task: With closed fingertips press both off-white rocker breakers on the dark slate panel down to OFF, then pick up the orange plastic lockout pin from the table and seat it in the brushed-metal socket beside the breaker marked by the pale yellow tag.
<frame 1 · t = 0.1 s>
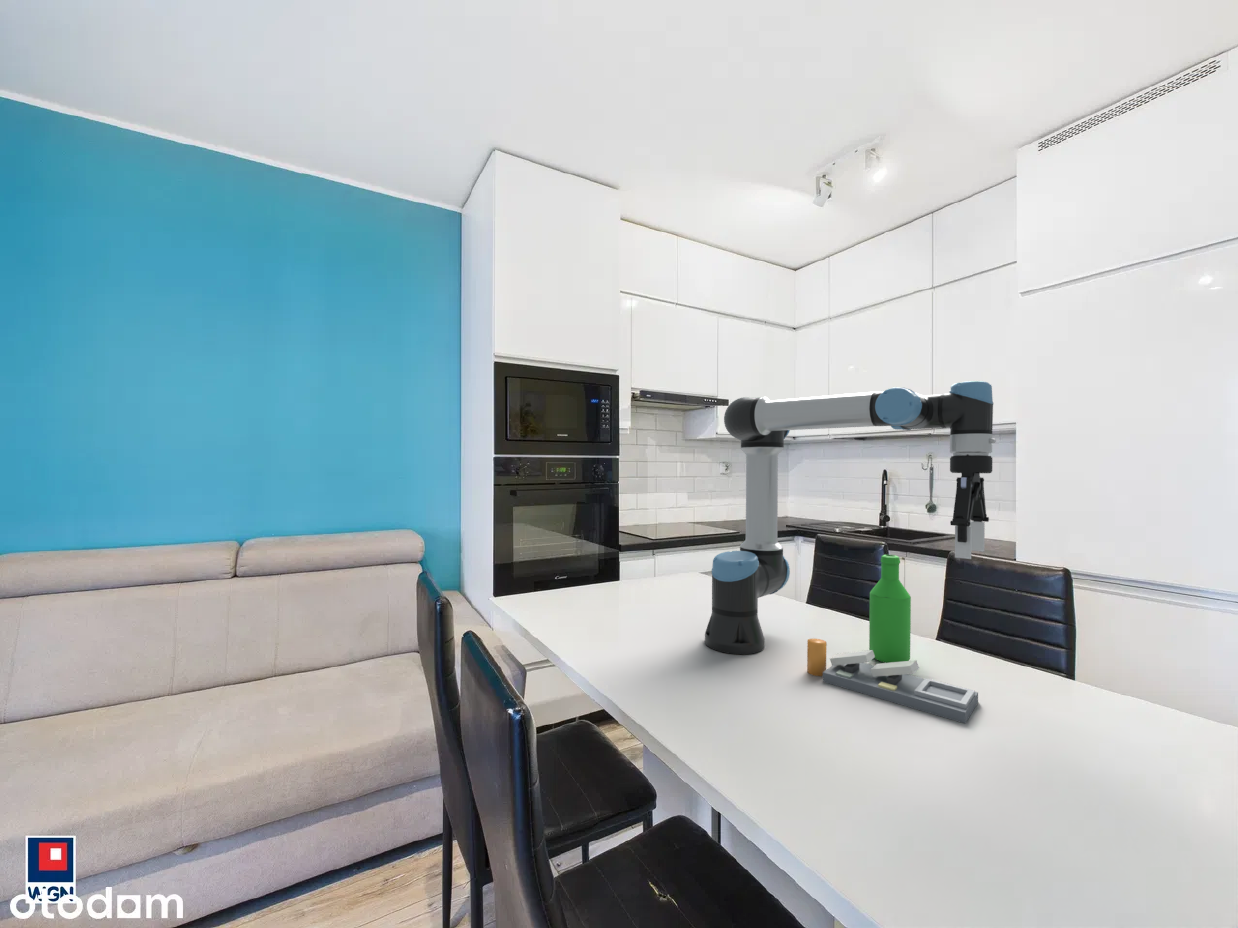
hand: (970, 554, 111), 28 cm above the table, fingers open, 13 cm apart
breaker b: (894, 668, 108), point 5 cm above the table, hinge at -20.0°
panel: (896, 691, 108), on the table
bottle: (889, 659, 126), on the table
lockout pin: (816, 672, 117), on the table
breaker a: (852, 657, 114), point 5 cm above the table, hinge at -20.0°
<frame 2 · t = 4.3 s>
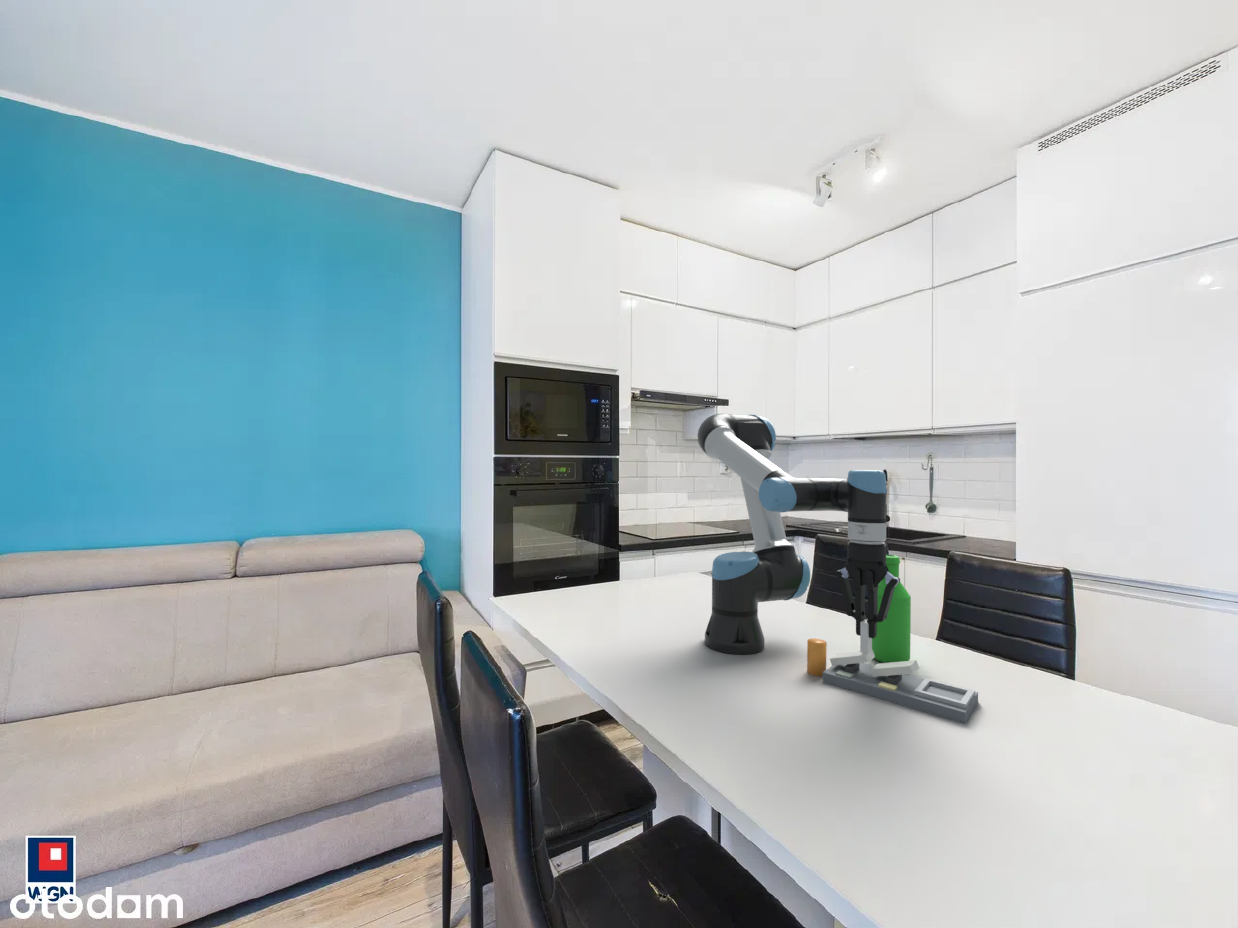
hand: (866, 651, 112), 7 cm above the table, fingers closed
breaker a: (852, 657, 114), point 5 cm above the table, hinge at -20.0°, touching gripper
everything else where it was.
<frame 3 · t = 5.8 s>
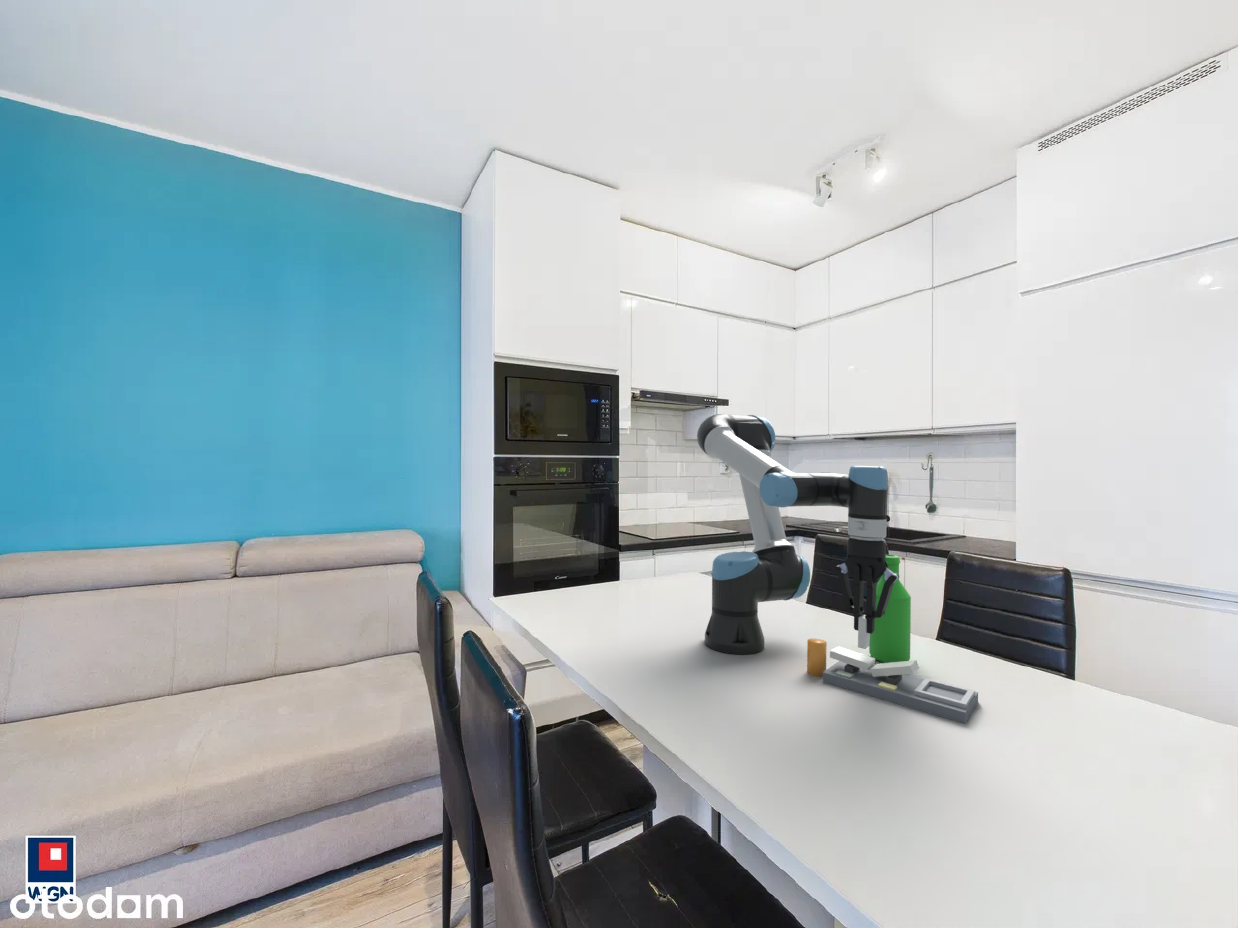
hand: (863, 646, 112), 8 cm above the table, fingers closed
breaker a: (852, 657, 114), point 5 cm above the table, hinge at 5.3°
everything else where it was.
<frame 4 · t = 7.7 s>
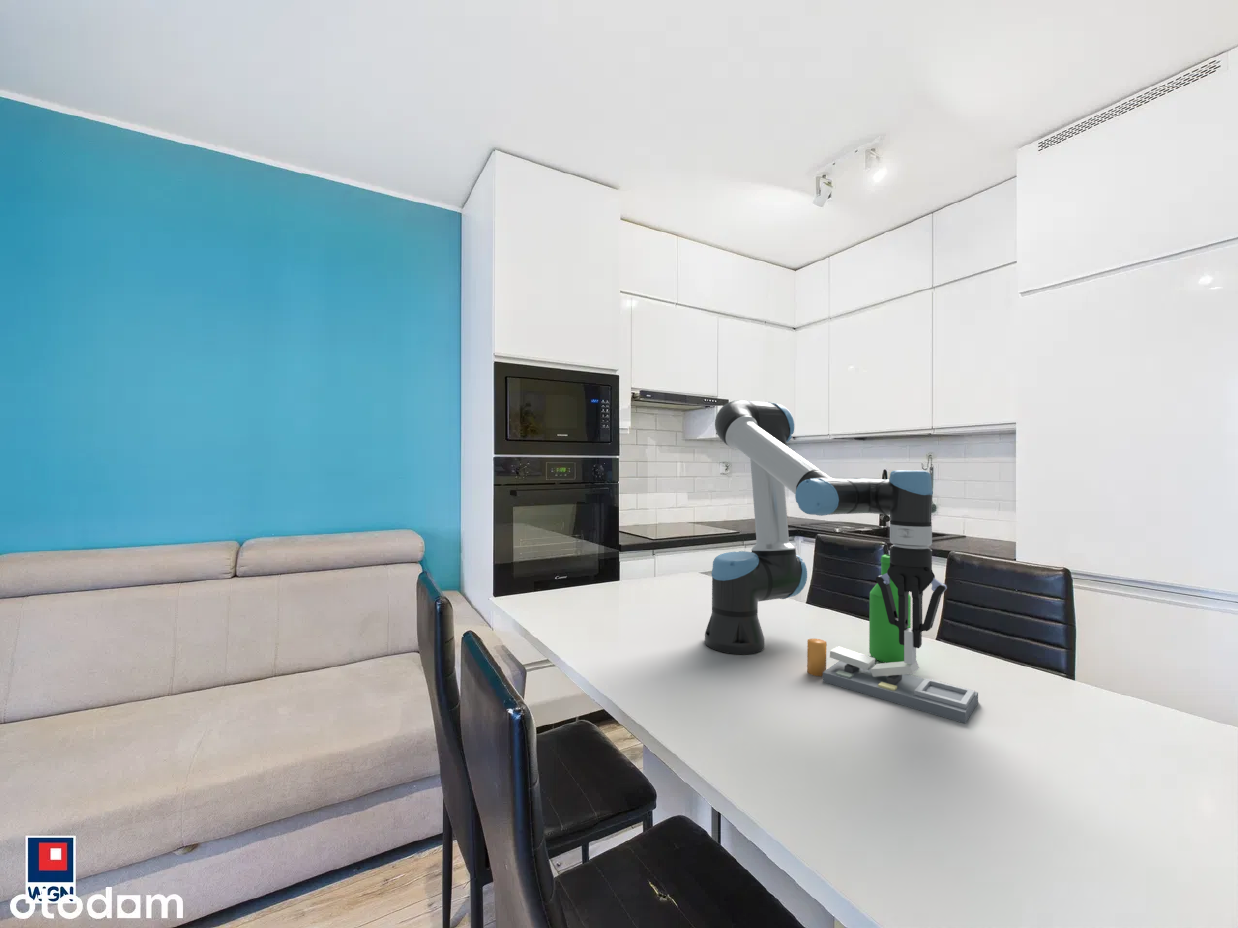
hand: (910, 661, 106), 7 cm above the table, fingers closed
breaker b: (894, 668, 108), point 5 cm above the table, hinge at -20.0°, touching gripper
everything else where it was.
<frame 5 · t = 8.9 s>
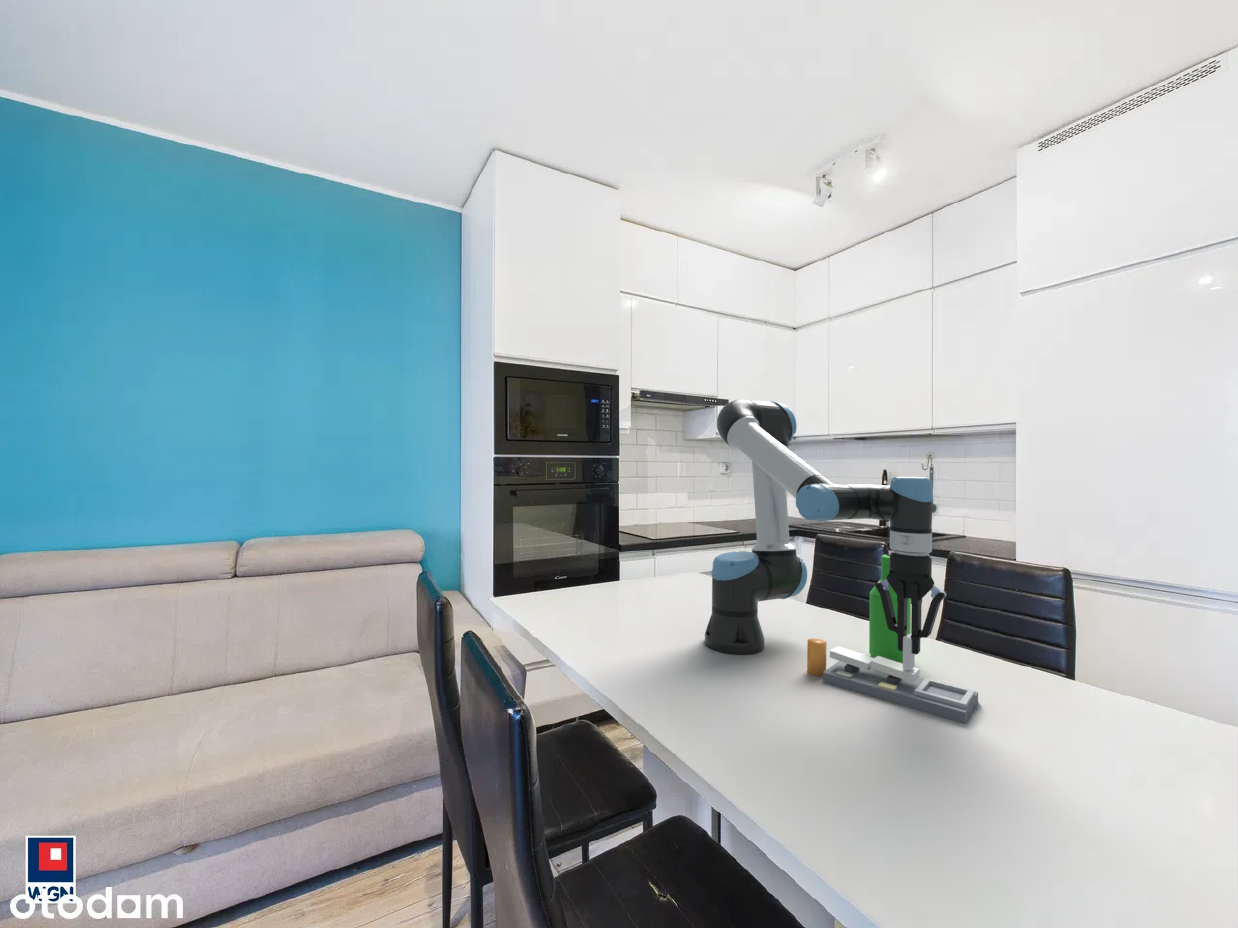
hand: (908, 667, 106), 5 cm above the table, fingers closed
breaker b: (894, 668, 108), point 5 cm above the table, hinge at 5.1°, touching gripper
everything else where it was.
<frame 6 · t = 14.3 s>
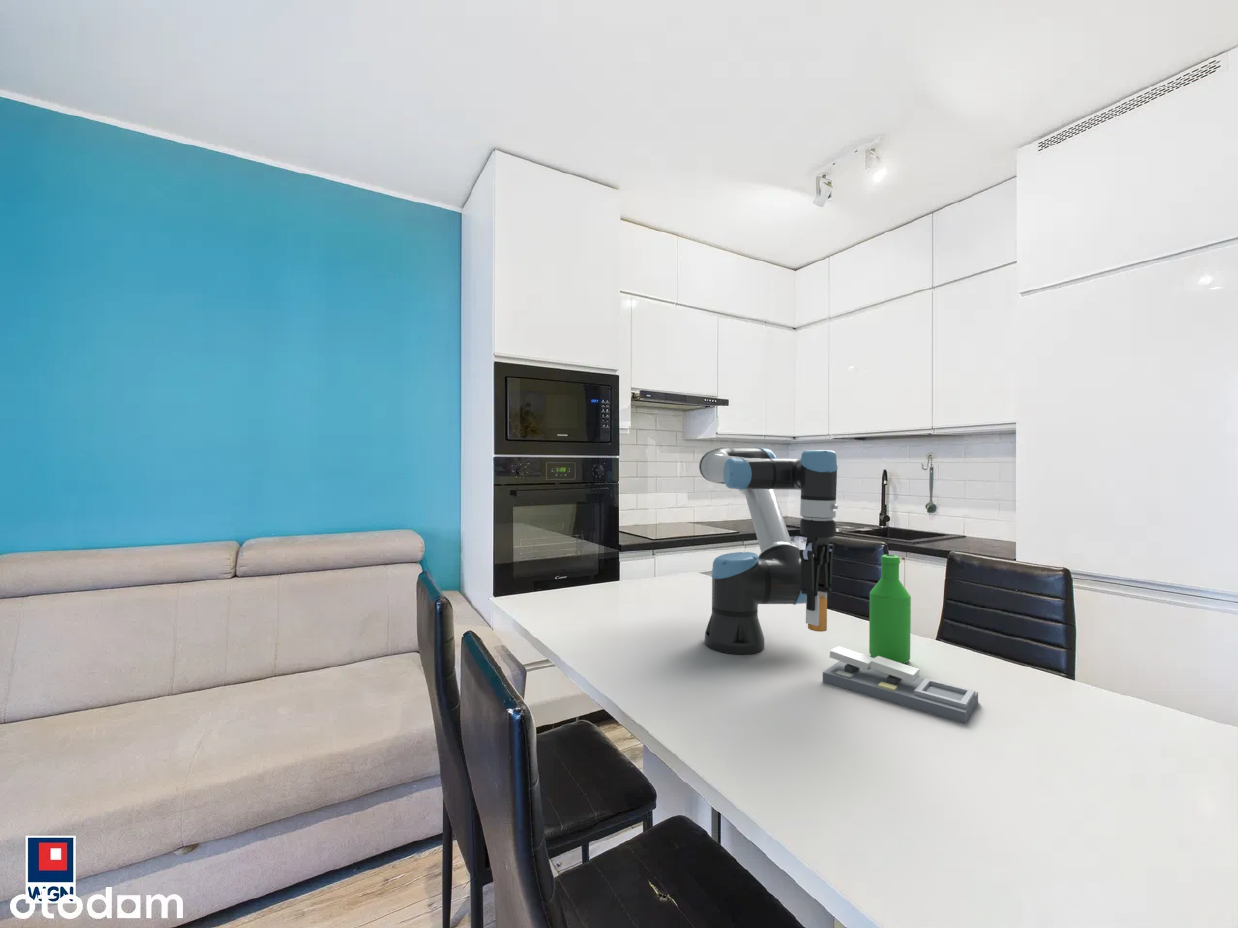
hand: (816, 621, 118), 11 cm above the table, fingers closed on lockout pin, 3 cm apart
breaker b: (894, 668, 108), point 5 cm above the table, hinge at 5.1°
lockout pin: (817, 628, 117), point 10 cm above the table, touching gripper
everything else where it was.
when the fingers open (3 cm above the table, at t = 18.3 s): lockout pin stays where it is, resting on panel.
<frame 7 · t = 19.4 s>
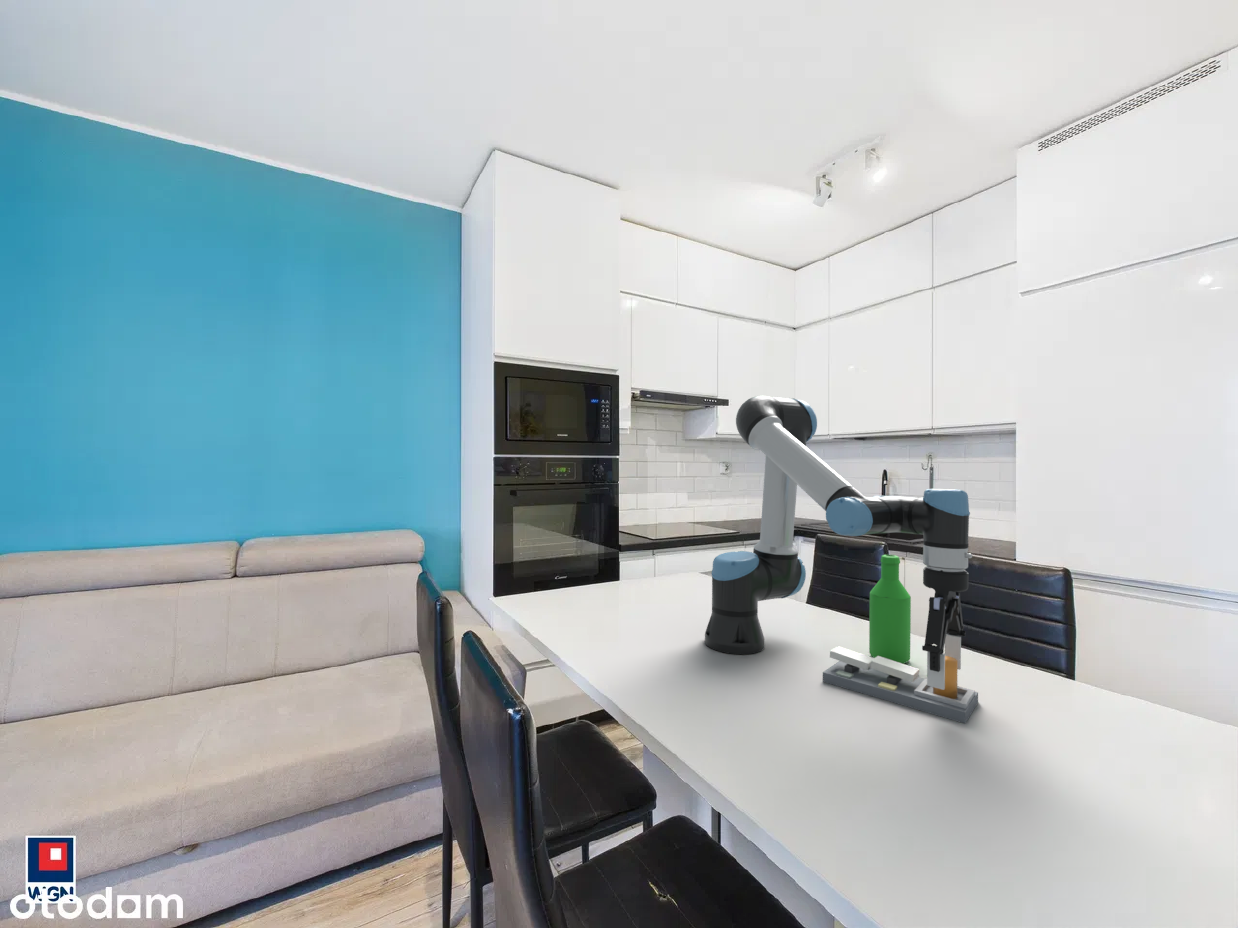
hand: (944, 676, 102), 5 cm above the table, fingers open, 13 cm apart
lockout pin: (945, 694, 102), point 2 cm above the table, touching panel
everything else where it was.
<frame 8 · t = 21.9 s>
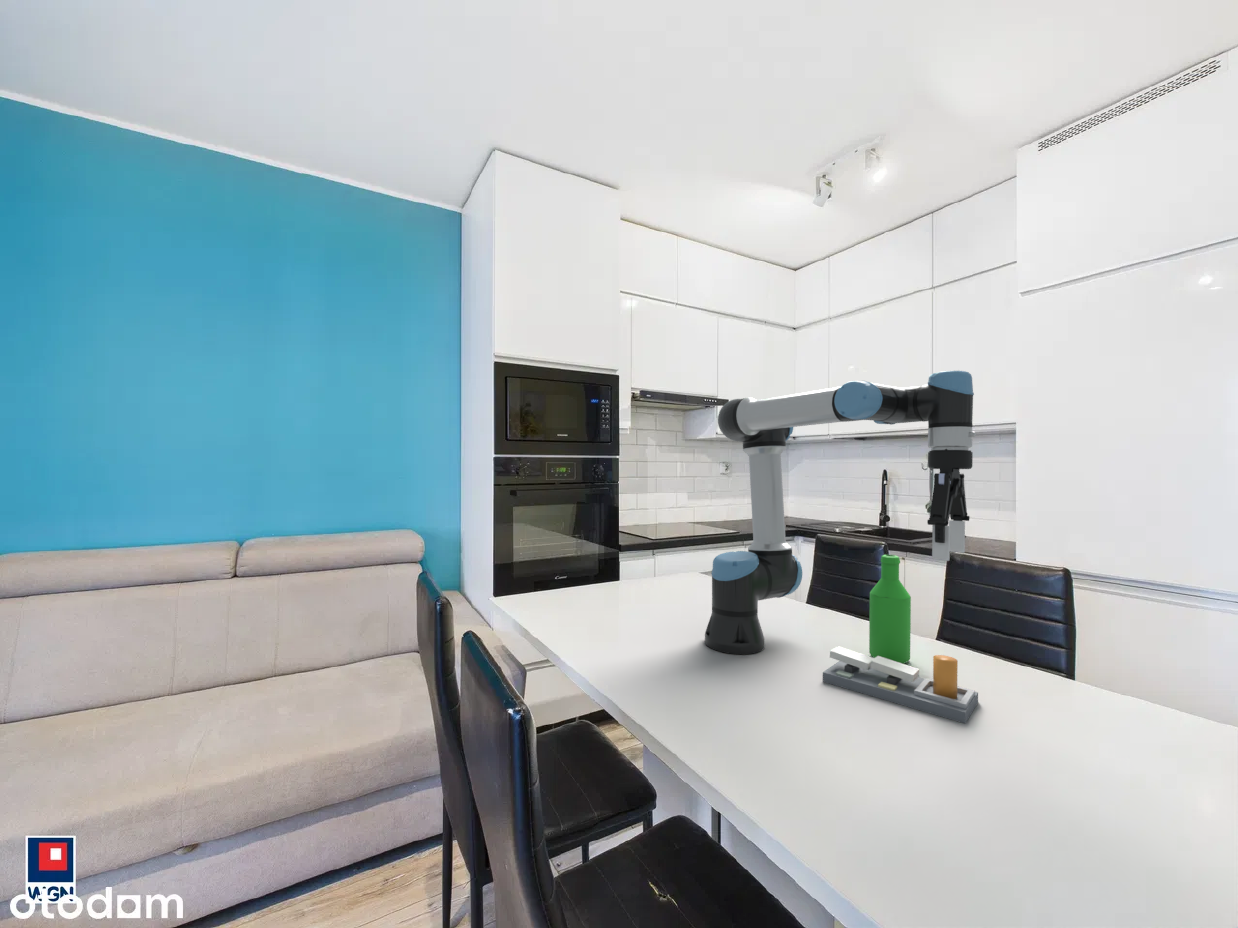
hand: (949, 555, 104), 29 cm above the table, fingers open, 13 cm apart
nothing on the table moved.
at the end: breaker b at +5° (first picture: -20°); lockout pin 0.1 cm from the target spot on the panel, point 2.0 cm above the panel's base; lockout pin tilted 0° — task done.
